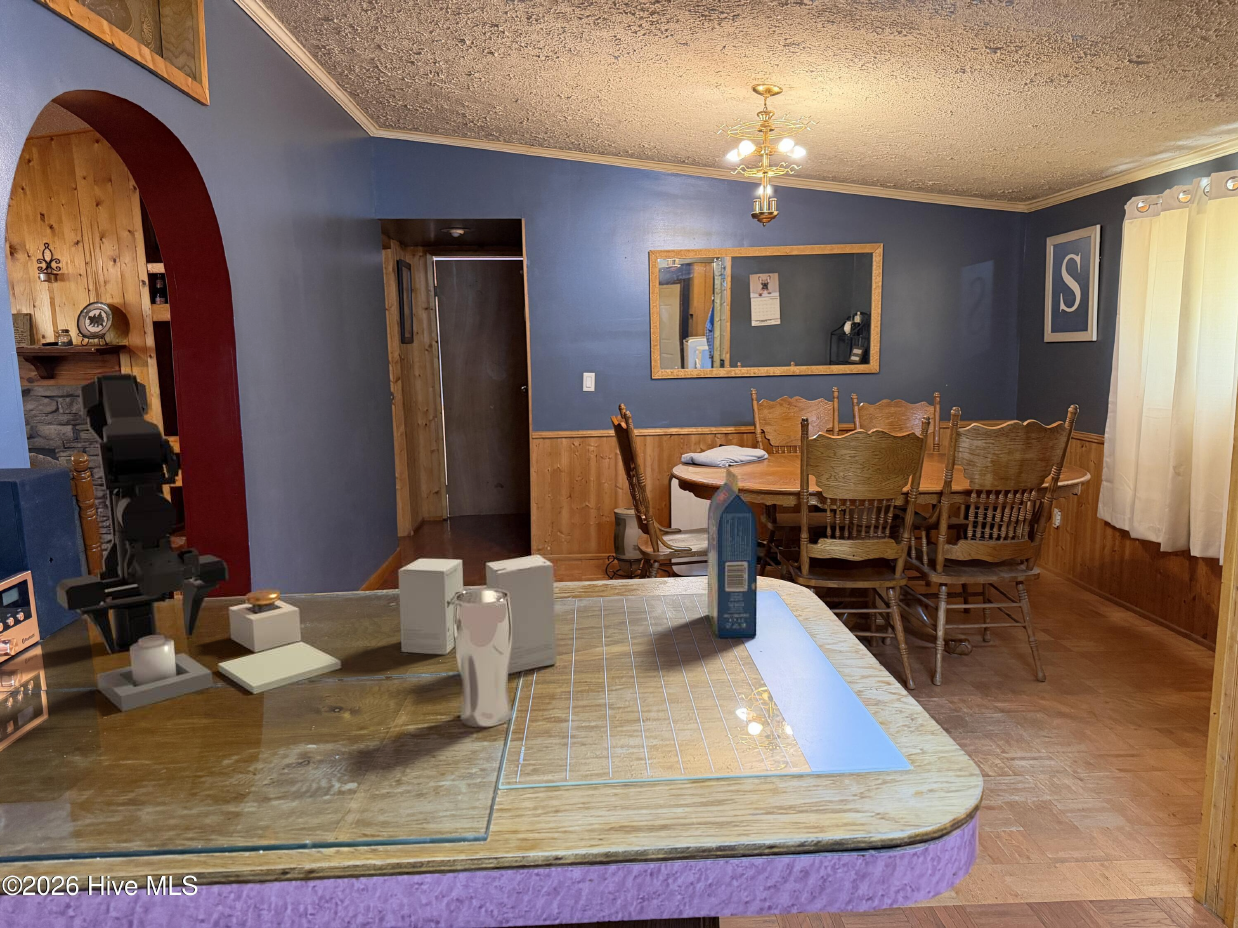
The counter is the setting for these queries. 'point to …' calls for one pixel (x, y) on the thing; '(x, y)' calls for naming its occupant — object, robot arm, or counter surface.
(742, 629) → the blue food package
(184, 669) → the socket
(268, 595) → the plunger
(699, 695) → the counter surface
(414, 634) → the supplement box
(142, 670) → the cylinder
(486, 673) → the beer glass
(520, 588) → the skincare box
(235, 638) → the plunger housing
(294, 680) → the dock pad
